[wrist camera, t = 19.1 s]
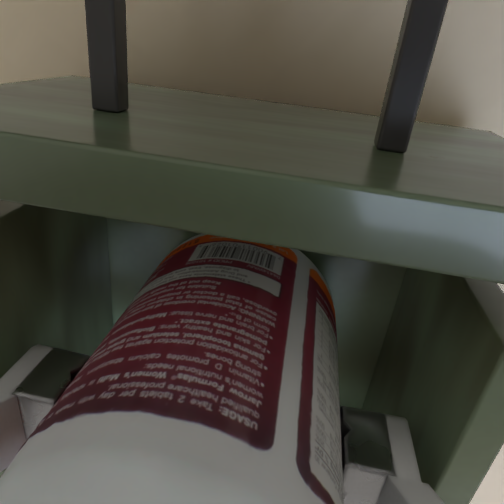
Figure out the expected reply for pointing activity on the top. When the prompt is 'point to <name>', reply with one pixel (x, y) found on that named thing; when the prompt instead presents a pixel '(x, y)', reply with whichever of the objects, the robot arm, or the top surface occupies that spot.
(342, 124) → the drawer
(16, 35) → the top surface
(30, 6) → the top surface
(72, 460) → the pill bottle
